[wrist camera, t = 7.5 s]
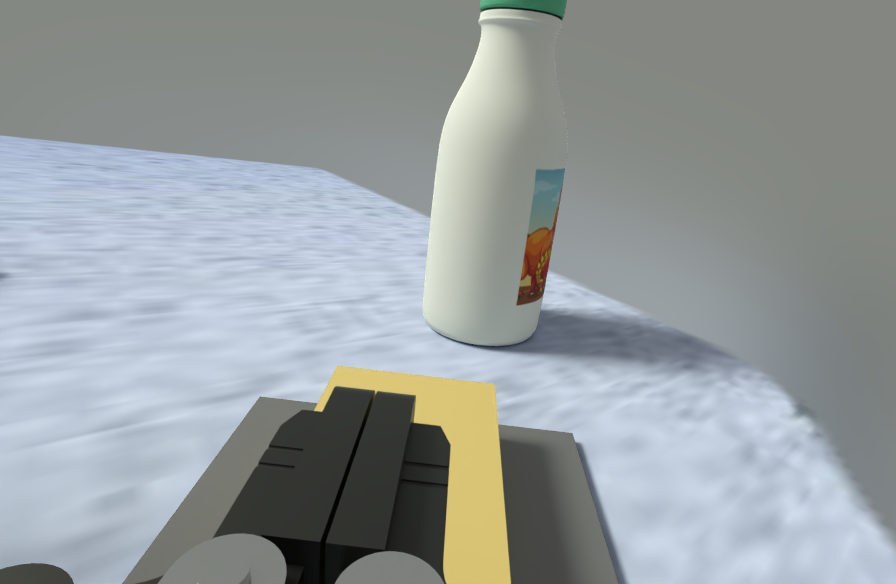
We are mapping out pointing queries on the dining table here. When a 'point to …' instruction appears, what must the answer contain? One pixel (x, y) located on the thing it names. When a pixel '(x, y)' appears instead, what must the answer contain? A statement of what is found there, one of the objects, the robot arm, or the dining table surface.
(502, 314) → the milk bottle
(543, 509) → the mat
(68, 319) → the dining table surface
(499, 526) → the box
